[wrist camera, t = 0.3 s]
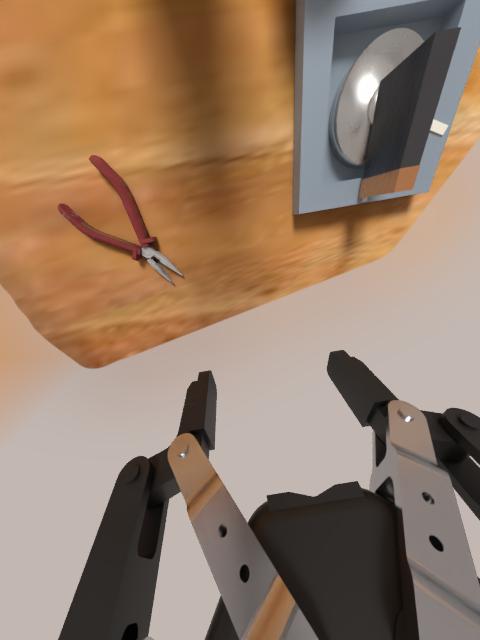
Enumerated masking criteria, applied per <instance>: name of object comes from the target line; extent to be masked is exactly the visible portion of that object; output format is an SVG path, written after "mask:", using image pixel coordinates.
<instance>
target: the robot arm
mask: <svg viewBox="0 0 480 640" xmlns="http://www.w3.org/2000/svg"><path fill="white" fill-rule="evenodd" d="M327 372H328V375H329V377H330V378H331V380H332V381H333V383H334V384H335V386H336V387H337V389H338V391H339V392H340V393H341V395H342V397H343V398H344V399H345V401H346V402H347V404H348V406H349V407H350V409H351V410H352V411H353V413H354V415H355V416H356V417H357V419H358V421H359V422H360V424H361V425H362V427H365V426H371V427H372V429H373V430H374V431H373V469H372V475H371V479H370V489H369V490H366V489H363V488H361V487H360V485H359V483H358V481H355V482H349V483H343V484H337V485H334V486H332V487H331V488H329V489H327V490H326V491H324V492H323V493H321V494H319V495H318V496H316V497H311V496H306V495H302V494H297V493H292V492H286V493H279V494H273V495H267V502H265V503H263V504H262V505H261V506H260V507H259V508H258V509H257V510H256V511H255V512H254V513H253V515H252V516H251V518H250V519H249V522H248V523H247V522H246V520H245V518H244V517H243V515H242V514H241V512H240V510H239V509H238V507H237V505H236V504H235V502H234V501H233V499H232V497H231V495H230V494H229V493H228V491H227V489H226V487H225V486H224V484H223V482H222V481H221V479H220V478H219V476H218V474H217V473H216V472H215V470H214V468H213V467H212V465H211V463H210V461H209V450H214V449H215V425H216V424H215V423H216V400H217V389H216V384H215V381H214V378H213V375H212V372H211V371H204V372H199V376H198V381H194V382H192V383H191V385H190V386H189V388H188V389H187V394H186V399H185V405H184V408H183V413H182V418H181V422H180V427H179V431H178V435H177V437H176V439H174V441H173V442H172V443H171V445H170V446H169V447H168V448H167V449H165V450H164V451H162V452H160V453H158V454H156V455H154V456H153V457H150V458H149V459H147V458H146V457H144V456H138V457H136V458H134V459H132V460H131V461H130V462H128V463H127V464H126V465H125V466H124V468H123V469H122V470H121V472H120V474H119V476H118V478H117V481H116V483H115V486H114V489H113V492H112V494H111V497H110V500H109V503H108V505H107V508H106V511H105V513H104V516H103V519H102V521H101V524H100V527H99V530H98V532H97V535H96V538H95V541H94V544H93V546H92V549H91V552H90V554H89V557H88V560H87V563H86V565H85V568H84V571H83V573H82V576H81V579H80V582H79V584H78V587H77V590H76V593H75V595H74V598H73V601H72V603H71V606H70V609H69V612H68V614H67V617H66V620H65V623H64V625H63V628H62V631H61V634H60V637H59V639H58V640H154V639H152V638H151V637H148V633H149V627H150V620H151V613H152V607H153V600H154V594H155V588H156V581H157V574H158V568H159V561H160V554H161V548H162V542H163V535H164V529H165V522H166V516H167V509H168V503H169V498H171V497H173V496H174V495H176V494H178V493H179V492H182V494H183V496H184V499H185V502H186V504H187V512H188V515H189V518H190V521H191V523H192V526H193V528H194V530H195V533H196V535H197V538H198V540H199V543H200V545H201V547H202V550H203V552H204V555H205V557H206V560H207V562H208V564H209V567H210V569H211V572H212V574H213V577H214V579H215V581H216V584H217V586H218V589H219V591H220V594H221V596H220V599H219V602H218V605H217V608H216V610H215V613H214V616H213V618H212V621H211V624H210V627H209V630H208V632H207V635H206V638H205V640H480V579H479V578H478V577H477V574H476V570H475V567H474V563H473V559H472V556H471V552H470V549H469V545H468V541H467V537H466V534H465V530H464V526H463V523H462V519H461V515H460V512H459V508H458V505H457V501H456V497H455V494H454V490H453V488H454V489H455V490H456V492H457V493H458V494H459V495H460V497H461V498H462V499H463V500H464V502H465V503H466V504H467V505H468V506H469V508H470V509H471V510H472V511H473V513H474V514H475V515H476V516H477V518H478V519H479V520H480V468H479V467H478V466H477V465H476V464H475V463H474V461H473V460H472V459H471V458H469V456H472V457H473V458H474V460H475V461H476V462H477V463H478V464H479V465H480V418H479V417H478V416H476V415H474V414H472V413H470V412H468V411H465V410H462V409H458V408H449V409H447V410H446V411H445V412H444V413H443V414H441V413H434V412H428V411H421V410H419V409H418V408H416V407H415V406H413V405H411V404H409V403H407V402H404V401H400V400H399V399H397V398H396V397H395V396H394V395H393V393H391V391H390V390H389V389H388V388H387V387H386V386H385V385H384V384H383V383H382V382H381V381H380V380H379V379H378V378H377V377H376V376H374V374H373V373H372V372H371V371H370V370H369V368H368V367H367V366H366V365H365V364H364V363H363V362H361V361H360V360H358V359H356V358H355V357H350V356H349V355H348V354H347V353H346V352H345V351H344V350H340V351H333V352H330V355H329V360H328V365H327Z"/></svg>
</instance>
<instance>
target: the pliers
mask: <svg viewBox="0 0 480 640" xmlns="http://www.w3.org/2000/svg"><path fill="white" fill-rule="evenodd" d="M89 160H90V161H91V163H92V164H93V165H94V166H95V167H96V168H97V169H98V170H99V171H100V172H101V173H102V174H103V175H104V176H105V177H106V178H107V179H108V180H109V181H110V182H111V183H112V185H113V186H114V187H115V189H116V190H117V192H118V194H119V196H120V198H121V200H122V202H123V205H124V207H125V209H126V212H127V214H128V216H129V219H130V221H131V223H132V225H133V228H134V230H135V232H136V235H137V237H138V239H139V242H140V244H141V246H142V247H141V246H139V245H136V244H133V243H131V242H128V241H125V240H122V239H120V238H117V237H114V236H111V235H109V234H106V233H103V232H101V231H99V230H97V229H95V228H93V227H92V226H90V225H89V224H87V223H86V222H85V221H84V220H83V219H82V218H81V217H80V216H78V215H77V214H76V213H75V212H74V211H73V210H72V209H71V208H70V207H69V206H67V205H65V204H59V206H58V210H59V212H60V213H61V214H62V215H63V216H64V217H65V218H66V219H67V220H69V221H70V222H71V223H72V224H73V225H74V226H75V227H76V228H77V229H79V230H80V231H81V232H83V233H84V234H86V235H88V236H90V237H92V238H94V239H96V240H99V241H102V242H105V243H107V244H110V245H113V246H116V247H119V248H122V249H124V250H127V251H130V252H133V254H132V258H133V259H134V260H137V261H138V260H140V259H141V255H143V256H144V257H146V258H148V260H147V261H148V262H149V264H150V265H151V266H152V267H153V268H154V269H155V270H156V271H157V272H159V273H160V274H161V275H162V276H164V277H165V278H166V279H167V280H168V281H170V282H171V283H172V284H174V283H173V282H172V280H171V279H170V277H169V276H168V274H167V273H166V272H165V270H164V269H163V267H162V266H161V265H160V263H156V262H155V261H154V260H153V257H155V258H157V259H158V260H160V262H161V263H163V264H164V265H166V266H167V267H169V268H170V269H172V270H174V271H175V272H177V273H178V274H180V275H181V276H183V275H182V274H181V273H180V271H179V270H178V269H177V268H176V267H175V266H174V265H173V264H172V263H171V262H170V261H169V259H168V258H167V257H165V256H164V255H163V254H162V253H160V252H159V251H155V249H154V248H153V246H152V242H153V241H157V238H156V237H152V238H149V235H148V233H147V230H146V228H145V225H144V223H143V220H142V218H141V215H140V213H139V210H138V208H137V205H136V203H135V200H134V198H133V196H132V194H131V192H130V190H129V188H128V187H127V185H126V183H125V182H124V181H123V179H122V178H121V177H120V176H119V175H118V174H117V173H116V172H115V171H114V170H113V169H112V168H111V167H110V166H109V165H108V164H107V163H106V162H105V161H104V160H103V159H102V158H100V157H98V156H95V155H92V156H90V158H89Z"/></svg>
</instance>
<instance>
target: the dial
mask: <svg viewBox="0 0 480 640" xmlns="http://www.w3.org/2000/svg"><path fill="white" fill-rule="evenodd" d="M460 30H461V27H458V28H453V29H447V30H441V31H436V32H435V33H434V34H433V35H431V36H430V37H429V38H428V39H427V40H426V41H425V42H424V40H423V39H422V38H421V36H420V35H419V34H417V33H416V32H415V31H413V30H411V29H407V28H396V29H393V30H390V31H388V32H386V33H384V34H382V35H381V36H379V37H378V38H376V39H375V40H374V41H373V42H372V43H371V44H370V45H369V46H368V47H367V48H366V49H365V50H364V52H363V53H362V54H361V55H360V56H359V58H358V59H357V60H356V61H355V63H354V64H353V65H352V66H351V68H350V69H349V70H348V72H347V73H346V75H345V76H344V78H343V80H342V81H341V83H340V85H339V87H338V90H337V92H336V95H335V97H334V101H333V104H332V108H331V113H330V120H329V137H330V143H331V147H332V150H333V152H334V154H335V156H336V158H337V159H338V160H339V161H340V162H341V163H342V164H343V165H345V166H347V167H350V168H362V167H365V168H364V174H363V180H362V182H361V188H360V194H359V198H364V197H370V196H376V195H382V194H388V193H394V192H400V191H406V190H412V189H413V187H414V184H415V181H416V177H417V174H418V171H419V168H420V162H421V158H422V155H423V152H424V149H425V145H426V142H427V139H428V135H429V132H430V129H431V126H432V122H433V119H434V116H435V112H436V109H437V106H438V103H439V99H440V96H441V93H442V89H443V86H444V83H445V79H446V76H447V73H448V70H449V66H450V63H451V60H452V56H453V53H454V50H455V47H456V43H457V40H458V37H459V33H460Z"/></svg>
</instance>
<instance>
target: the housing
mask: <svg viewBox="0 0 480 640" xmlns="http://www.w3.org/2000/svg"><path fill="white" fill-rule="evenodd" d="M458 27H461V30H460V33H459V37H458V40H457V43H456V47H455V50H454V53H453V56H452V60H451V63H450V66H449V70H448V73H447V76H446V79H445V83H444V86H443V89H442V93H441V96H440V99H439V103H438V106H437V109H436V112H435V116H434V119H433V122H432V126H431V129H430V132H429V135H428V139H427V142H426V145H425V149H424V152H423V155H422V158H421V162H420V168H419V171H418V174H417V177H416V181H415V184H414V187H413V189H412V190H406V191H400V192H394V193H388V194H382V195H376V196H370V197H364V198H359V194H360V188H361V182H362V180H363V174H364V168H365V167H362V168H350V167H347V166H345V165H343V164H342V163H341V162H340V161H339V160H338V159H337V158H336V156H335V154H334V152H333V150H332V147H331V143H330V137H329V120H330V113H331V108H332V104H333V101H334V97H335V95H336V92H337V90H338V87H339V85H340V83H341V81H342V80H343V78H344V76H345V75H346V73H347V72H348V70H349V69H350V68H351V66H352V65H353V64H354V63H355V61H356V60H357V59H358V58H359V56H360V55H361V54H362V53H363V52H364V50H365V49H366V48H367V47H368V46H369V45H370V44H371V43H372V42H373V41H374V40H375V39H376V38H378V37H379V36H381V35H382V34H384V33H386V32H388V31H390V30H393V29H396V28H407V29H411V30H413V31H415V32H416V33H417V34H419V35H420V36H421V38H422V39H423V40H424V42H425V41H426V40H427V39H428V38H429V37H430V36H431V35H433V34H434V33H435V32H436V31H441V30H447V29H453V28H458ZM479 44H480V0H296V9H295V87H294V165H293V215H296V214H303V213H309V212H315V211H321V210H326V209H332V208H338V207H344V206H350V205H355V204H361V203H367V202H373V201H379V200H385V199H390V198H396V197H402V196H408V195H414V194H419V193H425V192H429V189H430V186H431V183H432V180H433V177H434V175H435V172H436V169H437V166H438V163H439V160H440V157H441V154H442V151H443V149H444V146H445V143H446V140H447V137H448V134H449V131H450V128H451V125H452V123H453V120H454V117H455V114H456V111H457V108H458V105H459V102H460V99H461V97H462V94H463V91H464V88H465V85H466V82H467V79H468V76H469V73H470V70H471V68H472V65H473V62H474V59H475V56H476V53H477V50H478V47H479Z"/></svg>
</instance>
